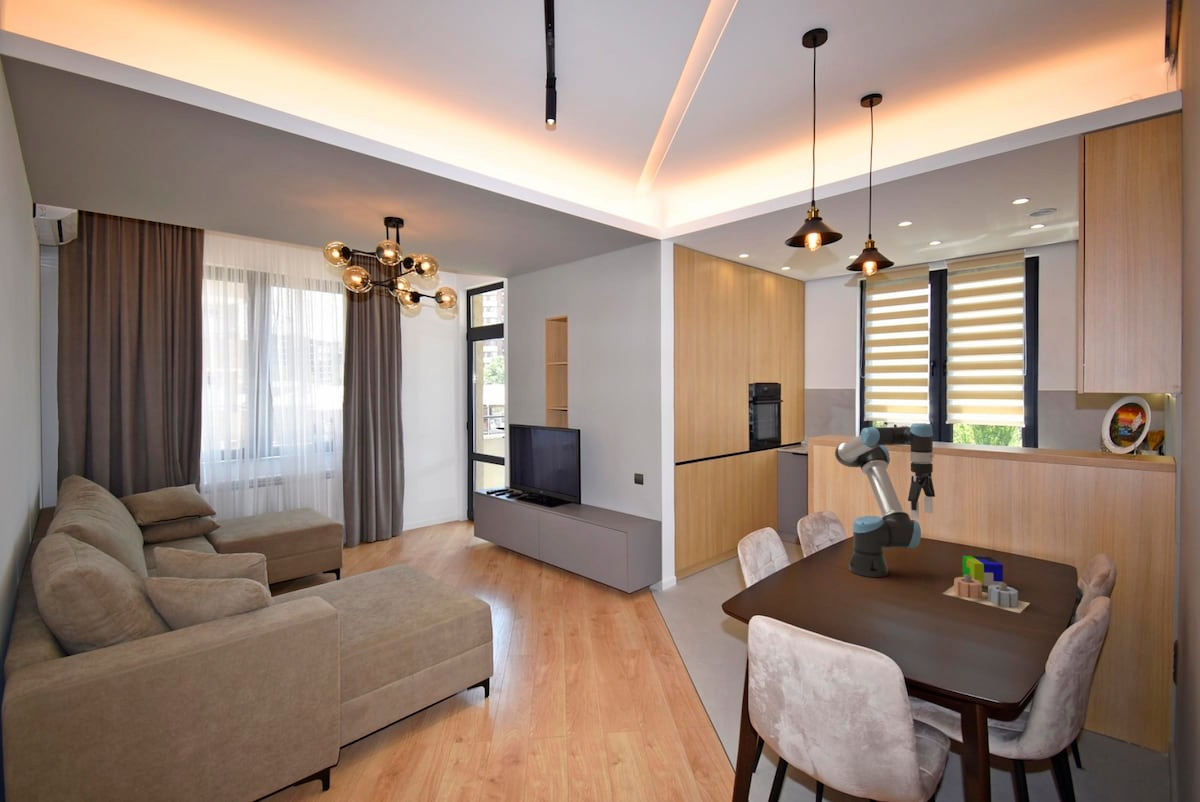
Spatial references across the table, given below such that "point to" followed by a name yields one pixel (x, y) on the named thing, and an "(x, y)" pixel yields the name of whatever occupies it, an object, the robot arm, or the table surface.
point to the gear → (1003, 596)
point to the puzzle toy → (983, 569)
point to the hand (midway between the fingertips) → (921, 515)
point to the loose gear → (967, 588)
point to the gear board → (984, 597)
